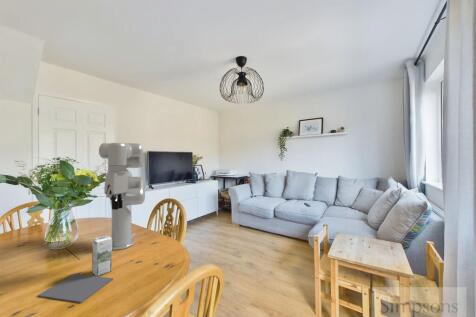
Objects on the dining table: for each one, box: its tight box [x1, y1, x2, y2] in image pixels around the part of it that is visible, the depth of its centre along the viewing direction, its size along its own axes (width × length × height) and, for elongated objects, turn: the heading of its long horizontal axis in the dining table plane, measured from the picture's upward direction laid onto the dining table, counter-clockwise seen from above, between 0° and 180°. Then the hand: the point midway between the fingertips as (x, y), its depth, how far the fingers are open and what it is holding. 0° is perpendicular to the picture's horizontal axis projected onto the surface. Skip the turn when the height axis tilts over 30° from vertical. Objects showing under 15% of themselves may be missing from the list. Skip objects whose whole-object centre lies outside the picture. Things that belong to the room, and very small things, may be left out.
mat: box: [37, 273, 114, 304], centre depth 78 cm, size 14×18×1 cm
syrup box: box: [91, 234, 113, 277], centre depth 89 cm, size 6×6×14 cm
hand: (117, 208), depth 98 cm, fingers closed
